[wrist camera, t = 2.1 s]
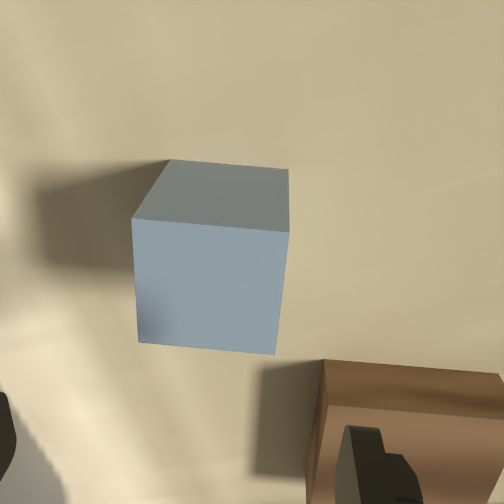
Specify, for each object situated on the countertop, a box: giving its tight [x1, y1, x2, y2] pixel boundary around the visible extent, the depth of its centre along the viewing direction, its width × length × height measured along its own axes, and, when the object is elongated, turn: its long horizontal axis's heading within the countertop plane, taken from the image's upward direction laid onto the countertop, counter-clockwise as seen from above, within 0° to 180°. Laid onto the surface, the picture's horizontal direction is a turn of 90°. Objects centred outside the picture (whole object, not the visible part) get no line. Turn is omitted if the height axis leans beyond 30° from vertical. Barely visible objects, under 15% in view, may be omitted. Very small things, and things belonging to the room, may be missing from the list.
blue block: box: [131, 159, 289, 355], centre depth 19 cm, size 5×5×6 cm
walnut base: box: [305, 359, 504, 504], centre depth 26 cm, size 9×9×4 cm
